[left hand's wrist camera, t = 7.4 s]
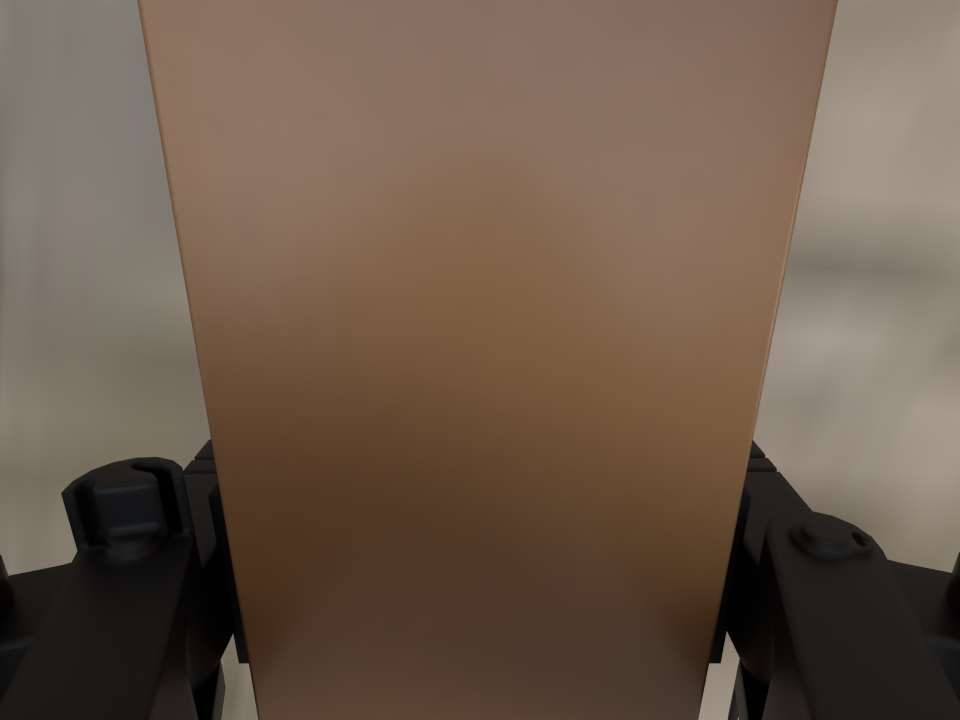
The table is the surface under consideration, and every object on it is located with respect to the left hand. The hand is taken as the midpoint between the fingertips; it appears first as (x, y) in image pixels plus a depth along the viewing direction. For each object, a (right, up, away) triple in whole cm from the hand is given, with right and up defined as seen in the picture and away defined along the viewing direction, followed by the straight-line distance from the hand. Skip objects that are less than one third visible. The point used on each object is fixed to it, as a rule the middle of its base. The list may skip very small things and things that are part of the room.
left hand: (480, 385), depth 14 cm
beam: (0, +33, -12) cm, 35 cm away
